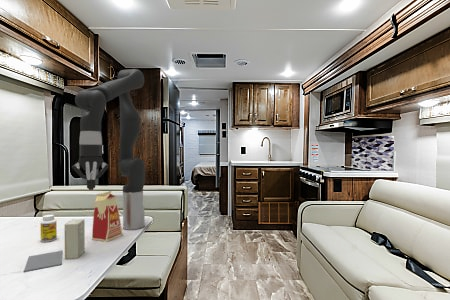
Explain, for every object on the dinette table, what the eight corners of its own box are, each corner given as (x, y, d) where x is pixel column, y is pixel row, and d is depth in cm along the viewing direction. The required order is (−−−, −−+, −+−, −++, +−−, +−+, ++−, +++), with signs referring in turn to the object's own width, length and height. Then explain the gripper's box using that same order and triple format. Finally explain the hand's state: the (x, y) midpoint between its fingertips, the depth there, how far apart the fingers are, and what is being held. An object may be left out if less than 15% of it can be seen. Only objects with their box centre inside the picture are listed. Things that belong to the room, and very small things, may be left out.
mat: (62, 251, 99) (62, 250, 99) (61, 264, 88) (61, 263, 88) (28, 257, 94) (28, 256, 94) (23, 272, 83) (23, 270, 83)
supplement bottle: (40, 243, 108) (40, 218, 107) (40, 239, 112) (40, 215, 112) (56, 240, 111) (56, 216, 111) (56, 237, 115) (56, 213, 115)
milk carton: (122, 235, 117) (122, 189, 117) (107, 242, 108) (106, 192, 108) (105, 233, 120) (105, 188, 120) (89, 239, 111) (88, 191, 111)
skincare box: (72, 252, 98) (72, 219, 98) (85, 251, 99) (85, 218, 99) (64, 259, 92) (63, 224, 92) (77, 258, 92) (77, 223, 92)
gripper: (108, 144, 108) (109, 187, 108) (70, 143, 101) (71, 189, 101) (111, 143, 101) (111, 189, 101) (70, 143, 95) (70, 192, 95)
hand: (91, 189), depth 101 cm, fingers closed
